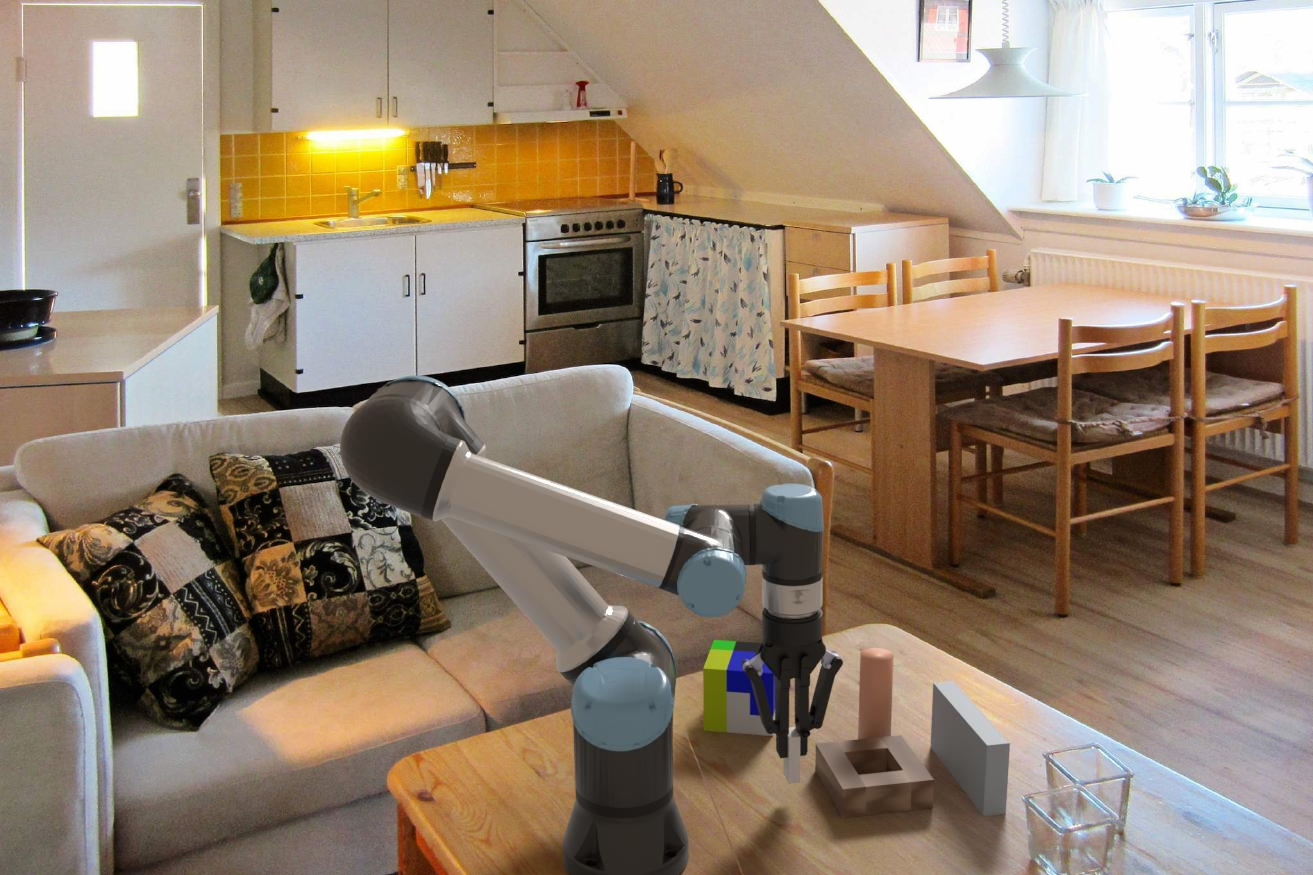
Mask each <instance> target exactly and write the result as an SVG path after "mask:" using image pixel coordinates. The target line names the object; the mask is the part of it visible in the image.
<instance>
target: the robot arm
mask: <svg viewBox="0 0 1313 875" xmlns="http://www.w3.org/2000/svg"><path fill="white" fill-rule="evenodd" d="M465 414H466V413H465V410H464V407H463V405H462V403H461V401H460V398H459V397H458V396H457V395H456V393H455V392H454V391H453V389H451V388H450V387H449V386H448V385H446V384H445V383H444V382H442V381H440V380H438V379H435V378H433V377H429V376H424V375H406V376H402V377H399V378H396V379H393V380H391V381H389V382H387V383H386V384H384V385H383V386H381V387H379V388H377V389H376V391H375V392H374V393H372V395H371V396H370V397H368V399H367V400H366V401H364V403H363V404H362V405H361V406H359V407H358V408H357V409H356V410H355V411H354V412H353V413H352V414H351V416H349V418H348V420H347V421H346V423H345V425H344V427H343V429H342V431H341V435H340V442H339V444H340V445H339V450H340V451H339V453H340V458H341V463H342V466H343V468H344V470H345V471H346V474H347V475H348V477H349V478H350V480H351V481H352V482H353V483H354V484H355V486H356V487H358V488H359V489H360V491H363V493H366V494H367V495H368V496H369V497H372V498H373V499H375V500H378V501H379V502H380V503H381V502H382V503H383V504H386V505H389V507H390V506H391V507H393V508H395V509H399V510H401V511H404V512H406V513H409V514H412V515H413V516H417V517H421V518H424V519H427V520H429V521H433V522H438V521H440V520H441V521H442V523H443V524H445V526H446V527H447V528H448V530H449V531H451V532H452V533H453V535H454V536H455V537H456V538H457V539H458V541H459V542H460V543H461V544H462V545H463V547H465V548H466V550H468V552H469V553H470V554H471V555H472V556H473V557H474V558H475V559H476V561H477V562H478V563H479V564H480V565H481V566H482V568H483V569H485V571H486V572H487V573H488V574H489V575H490V576H491V579H493V580H494V581H495V582H496V584H498V585H499V588H501V589H502V590H503V591H504V593H505V594H506V595H507V596H508V597H509V599H511V600H512V602H513V603H514V604H515V605H516V606H517V607H518V609H519V610H520V611H521V612H522V613H523V614H524V615H525V616H526V617H527V618H528V620H529V621H530V622H531V623H532V624H533V625H534V626H535V627H536V629H537V630H538V631H539V632H540V633H541V634H542V636H543V637H544V638H545V639H546V640H547V641H548V642H549V643H550V645H551V646H552V647H553V648H554V649H555V651H556V662H555V667H556V670H557V671H558V672H559V673H560V675H562V677H563V678H564V679H565V680H566V682H567V683H568V684H570V685H571V687H572V688H573V689H572V696H571V702H570V715H571V718H572V723H573V724H572V725H573V726H572V727H573V730H572V731H573V758H574V759H573V760H574V761H573V762H574V787H575V801H574V804H573V807H572V811H571V812H570V817H569V820H568V823H567V826H566V829H565V833H564V836H563V839H562V840H563V841H562V858H563V866H564V868H565V870H566V871H567V873H568V874H569V875H680V874H682V872H683V871H684V870H685V868H686V867H687V865H688V862H689V856H690V855H689V854H690V852H689V851H690V850H689V835H688V833H687V829H686V827H685V824H684V821H683V819H682V816H681V813H680V811H679V808H678V806H677V803H676V800H675V797H674V752H673V751H674V746H673V744H674V742H673V736H674V735H673V734H674V732H673V731H674V730H673V729H674V708H675V698H676V696H675V694H676V685H677V675H678V670H677V662H676V659H675V657H674V653H673V649H672V647H671V645H670V643H669V642H668V640H667V638H666V637H665V636H664V635H663V634H662V633H661V632H660V631H659V630H658V629H657V628H655V626H653V625H651V624H649V623H647V622H644V621H642V620H639V621H638V620H637V619H636V618H635V616H634V615H633V614H632V613H631V612H630V610H628V609H627V608H626V607H625V606H624V605H610V604H608V603H607V602H606V601H605V600H604V599H603V598H602V597H601V595H600V593H598V592H597V591H596V589H594V587H593V586H592V585H591V584H590V583H589V582H588V580H587V579H586V578H585V577H584V576H583V575H582V573H581V572H580V571H579V570H578V569H577V568H576V567H575V565H574V564H573V563H572V562H571V561H570V560H569V559H572V560H573V561H574V560H575V561H578V562H581V563H583V564H586V565H590V566H593V567H596V568H598V569H601V570H604V571H607V572H610V573H613V574H616V575H619V576H622V577H625V578H627V579H630V580H633V581H636V582H639V583H643V584H645V585H648V586H651V587H653V588H656V589H660V590H662V591H664V592H668V593H671V594H674V595H676V596H678V597H680V599H681V600H680V601H682V604H684V606H685V607H686V608H687V609H688V610H689V612H692V613H693V614H695V615H696V616H699V617H701V618H711V619H712V618H713V619H714V618H719V617H723V616H726V615H727V614H730V613H731V612H732V611H734V609H735V610H736V608H737V607H738V606H739V605H740V602H741V601H742V600H743V598H744V595H745V591H746V590H745V589H746V583H747V576H748V574H747V568H746V566H757V565H761V567H762V568H761V574H762V576H761V583H762V585H761V604H762V606H763V608H762V610H761V626H762V627H761V637H762V638H761V642H760V643H761V645H760V647H759V650H758V655H756V656H755V657H754V658H752V659H751V660H750V661H749V660H747V659H745V660H743V661H742V663H741V665H742V667H743V669H744V671H745V673H746V675H747V676H748V677H749V679H750V681H751V685H752V688H753V692H754V696H755V699H756V703H757V707H758V711H759V714H760V718H761V722H762V724H763V726H764V728H765V730H766V732H767V733H768V734H772V733H774V734H775V741H776V742H775V751H776V753H777V754H778V757H779V758H780V759H783V764H782V766H783V767H782V770H783V776H784V777H785V779H786V781H787V783H788V784H789V785H791V784H799V783H801V757H804V756H807V754H808V751H809V750H808V748H809V747H808V744H809V743H808V742H809V741H808V740H809V737H810V736H811V731H812V730H814V729H816V730H819V729H821V728H822V727H823V724H824V720H825V718H826V717H825V716H826V714H827V713H826V712H827V709H828V705H829V701H830V697H831V693H832V690H833V686H834V682H835V677H836V676H837V674H838V673H839V671H840V669H841V668H842V667H843V664H844V661H843V659H842V658H841V656H840V655H839V654H838V652H837V651H836V650H831V651H830V650H829V649H827V648H826V644H825V643H824V641H823V610H822V609H821V608H822V606H823V603H824V602H823V596H824V595H823V593H824V592H823V589H824V588H823V586H824V585H823V581H824V580H823V575H824V573H823V572H824V570H823V569H824V539H825V538H824V534H825V526H824V508H823V506H824V505H823V504H824V503H823V497H822V495H821V493H820V492H819V491H818V490H817V489H816V488H814V487H812V486H808V485H806V484H803V483H802V484H801V483H782V484H774V485H770V486H768V487H766V488H765V489H764V490H763V491H762V494H761V499H760V501H759V502H760V503H754V504H750V503H748V504H699V503H691V504H685V505H684V504H683V505H673V506H669V507H668V509H666V511H665V512H664V519H661V518H659V517H656V516H653V515H650V514H647V513H645V512H641V511H639V510H637V509H633V508H630V507H627V506H626V505H625V506H624V505H621V504H619V503H616V502H613V501H609V500H607V499H604V498H601V497H599V496H596V495H593V494H589V493H587V492H584V491H581V490H580V489H579V490H578V489H576V488H573V487H570V486H568V485H564V484H561V483H559V482H555V481H553V480H550V479H546V478H544V477H541V476H539V475H536V474H533V473H529V472H527V471H523V470H522V469H521V470H520V469H518V468H515V467H512V466H510V465H506V464H504V463H501V462H497V461H494V460H493V459H489V458H488V457H487V458H486V451H487V445H486V444H485V443H484V442H483V440H481V438H480V437H479V436H478V435H477V433H476V432H475V431H474V430H473V429H472V427H471V426H470V425H469V424H468V423H467V421H466V420H467V419H466V415H465ZM568 558H569V559H568ZM763 663H765V665H766V666H767V667H768V668H769V669H770V671H771V672H772V673H773V674H774V678H775V720H773V718H772V714H771V710H770V707H769V703H768V699H767V695H766V691H765V688H764V684H763V681H762V679H761V677H760V675H762V673H763V669H762V665H763ZM819 663H820V664H821V666H820V668H819V669H820V670H819V673H818V676H817V680H816V684H815V688H814V692H813V695H812V699H811V704H810V686H811V674H812V673H813V672H814V670H815V669H816V667H817V666H818V665H819ZM793 679H794V725H795V726H790V688H791V680H793ZM774 734H773V735H774Z"/></svg>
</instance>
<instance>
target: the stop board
mask: <svg viewBox="0 0 1313 875" xmlns="http://www.w3.org/2000/svg"><path fill="white" fill-rule="evenodd" d="M932 684H933V685H932V702H931V703H932V705H931V723H930V724H931V726H930V728H931V729H930V746H929V747H930V749H931V750H932V751H933V753H934V754H935V756H936V757H937V758H938V760H939V761H940V763H941V764H943V766H944V767H945V769H946V770H947V771H948V773H949V774H950V775H951V776H952V777H953V779H954V780H955V781H956V783H957V784H958V785H959V786H960V788H961V789H962V790H963V792H964V793H965V794H966V796H967V797H968V798H969V799H970V801H971V802H972V803H973V805H974V806H975V807H976V809H977V810H978V811H979V813H980V814H981V816H983V817H988V816H996V815H1005V814H1006V813H1007V799H1008V782H1009V767H1010V766H1009V765H1010V749H1011V748H1010V747H1011V743H1010V741H1009V740H1008V739H1007V738H1006V737H1005V736H1004V735H1003V734H1002V733H1001V731H1000V730H999V729H998V728H997V727H996V726H995V725H994V724H993V722H992V721H991V720H990V719H989V718H988V717H987V716H986V715H985V714H984V712H982V710H981V709H980V708H979V707H978V706H977V705H976V704H975V703H974V701H973V700H972V699H971V698H970V697H969V696H968V695H967V694H966V692H965V691H964V690H963V689H962V688H961V687H960V686H959V684H957V683H956V681H955V680H949V681H948V680H947V681H938V682H933V683H932Z"/></svg>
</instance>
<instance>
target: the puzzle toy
mask: <svg viewBox="0 0 1313 875" xmlns="http://www.w3.org/2000/svg"><path fill="white" fill-rule="evenodd" d="M761 643H762V642H750V641H749V642H748V641H738V640H737V641H734V640H724V639H723V640H721V639H720V640H718V639H713V642H712V645H711V646H710V650H709V652H708V655H707V658H706V660H705V663H704V666H703V667H702V668H703V669H702V672H703V673H702V674H703V675H702V676H703V678H702V679H703V682H702V684H703V686H702V687H703V689H702V692H703V693H702V694H703V695H702V696H703V732H705V731H706V732H717V733H731V734H742V735H755V736H767V737H773V736H774V733H772V734H768V733H767V732H766V730H765V728H764V726H763V724H762V722H761V718H760V714H759V711H758V707H757V703H756V699H755V696H754V692H753V688H752V685H751V681H750V679H749V677H748V676H747V675H746V673H745V671H744V669H743V667H742V665H741V663H742V661H743V660H745V659H747V660H749V661H750V660H751V659H752V658H754V657H755V656H756V655H758V650H759V647H760V645H761ZM762 669H763V673H762V675H760V677H761V679H762V681H763V684H764V688H765V691H766V695H767V699H768V703H769V707H770V710H771V714H772V718H773V720H775V678H774V674H773V673H772V672H771V671H770V669H769V668H768V667H767V666H766V665H765V663H763V665H762Z"/></svg>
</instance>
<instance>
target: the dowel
mask: <svg viewBox="0 0 1313 875" xmlns="http://www.w3.org/2000/svg"><path fill="white" fill-rule="evenodd" d="M859 656H860V658H859V659H860V660H859V690H858V691H859V692H858V693H859V696H858V726H857V727H858V731H857V739H867V738H877V737H888V736H892V716H893V715H892V714H893V685H894V683H893V681H894V680H893V679H894V653H893V652H892V651H891V650H888V649H886V648H879V647H870V648H869V647H868V648H864V649H863V650H861V651H860V655H859Z"/></svg>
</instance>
